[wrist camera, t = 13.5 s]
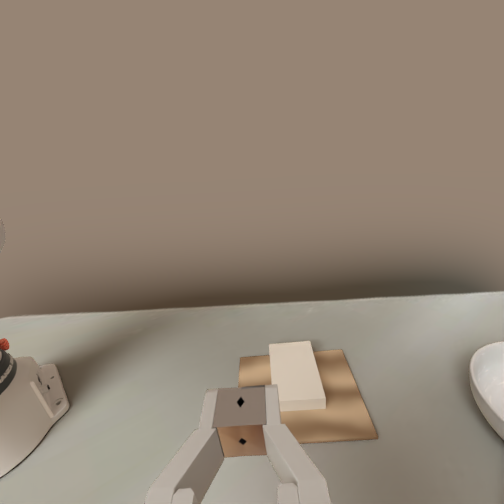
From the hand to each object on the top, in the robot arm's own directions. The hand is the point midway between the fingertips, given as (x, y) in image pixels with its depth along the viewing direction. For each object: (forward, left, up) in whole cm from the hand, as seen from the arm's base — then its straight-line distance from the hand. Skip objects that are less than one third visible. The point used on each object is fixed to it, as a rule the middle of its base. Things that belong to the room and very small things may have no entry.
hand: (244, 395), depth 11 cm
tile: (-13, +14, -28) cm, 34 cm away
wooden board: (-16, +16, -30) cm, 38 cm away
